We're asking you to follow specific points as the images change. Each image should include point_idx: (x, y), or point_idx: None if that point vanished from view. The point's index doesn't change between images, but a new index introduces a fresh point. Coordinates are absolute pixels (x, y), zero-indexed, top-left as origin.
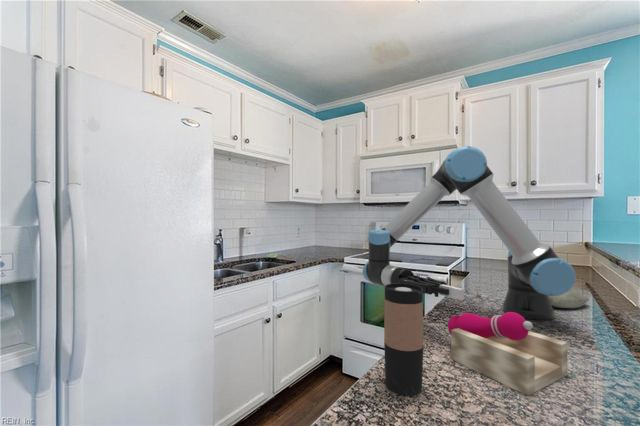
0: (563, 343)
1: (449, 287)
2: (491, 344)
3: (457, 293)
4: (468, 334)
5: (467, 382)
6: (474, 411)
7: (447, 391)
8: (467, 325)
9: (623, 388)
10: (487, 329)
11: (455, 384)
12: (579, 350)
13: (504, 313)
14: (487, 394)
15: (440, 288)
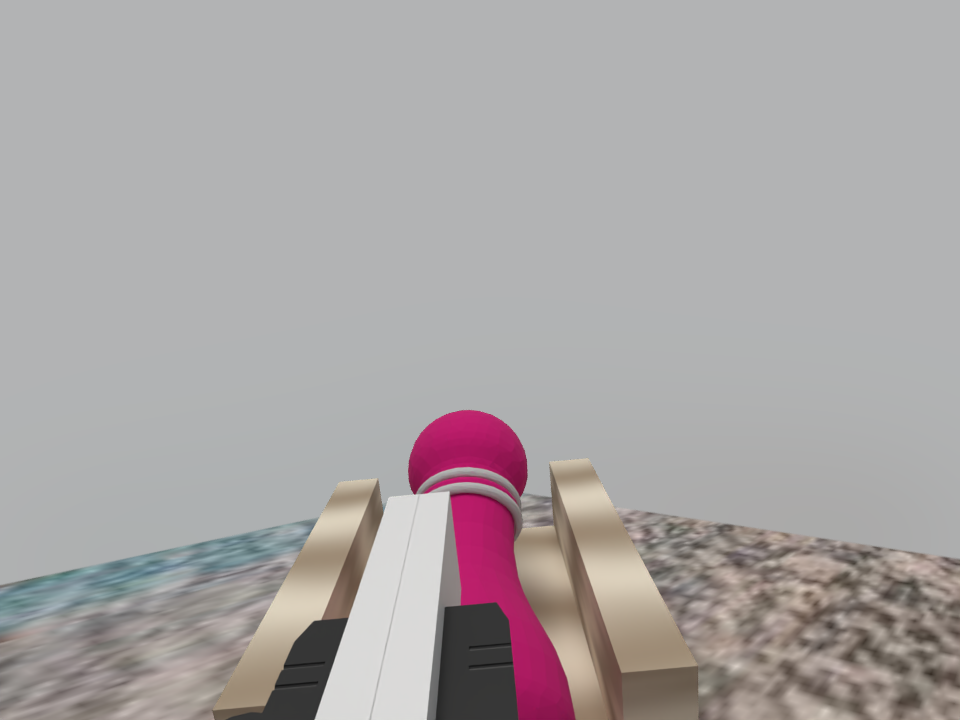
0: (359, 480)
1: (441, 574)
2: (610, 517)
3: (454, 549)
4: (629, 594)
5: (746, 644)
6: (813, 556)
7: (871, 630)
8: (548, 639)
9: None
10: (514, 555)
11: (811, 649)
12: (49, 650)
13: (479, 430)
14: (715, 586)
15: (512, 682)
